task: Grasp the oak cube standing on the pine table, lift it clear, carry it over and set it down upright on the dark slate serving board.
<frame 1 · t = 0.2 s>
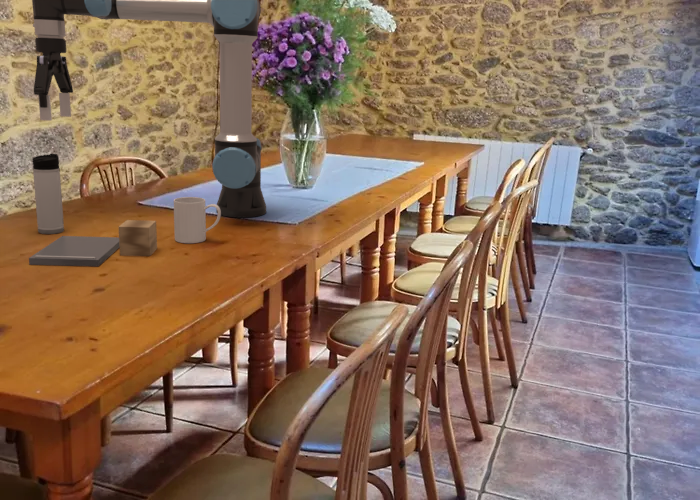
hand: (56, 118, 188), 28 cm above the table, fingers open, 13 cm apart
mug: (198, 241, 176), on the table
oak cube: (138, 252, 164), on the table
travel mug: (51, 232, 179), on the table
slate board: (79, 253, 161), on the table
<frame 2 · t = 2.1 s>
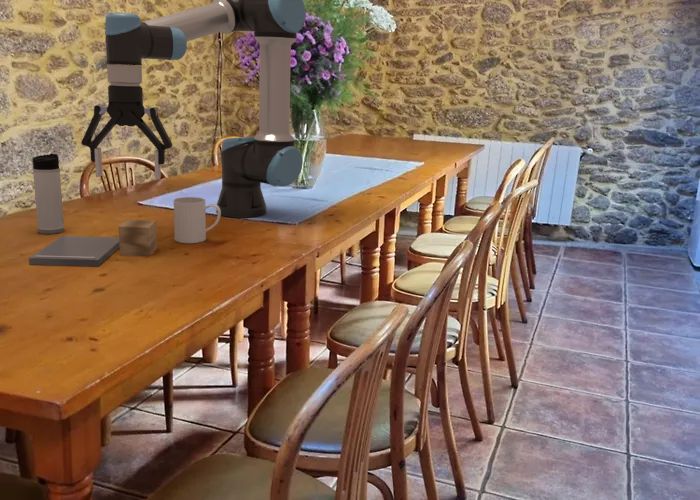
hand: (128, 177, 161), 18 cm above the table, fingers open, 13 cm apart
nothing on the table moved.
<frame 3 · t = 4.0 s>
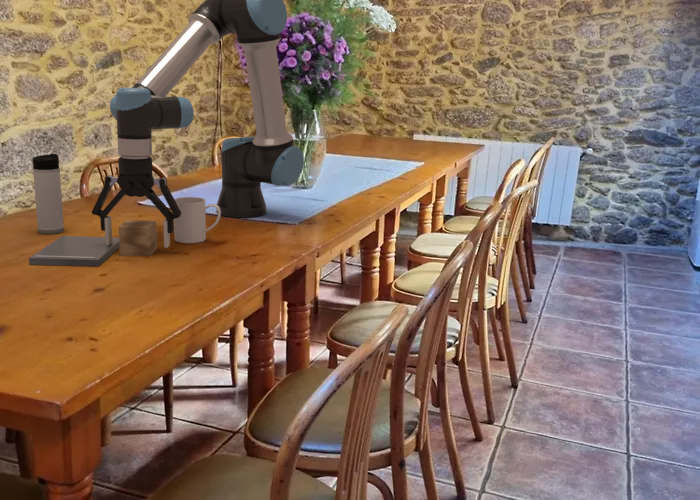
hand: (138, 245, 164), 2 cm above the table, fingers open, 13 cm apart
nothing on the table moved.
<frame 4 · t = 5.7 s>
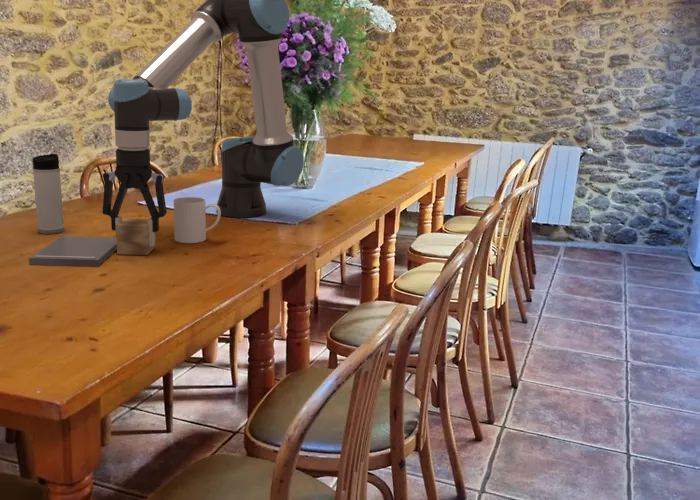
hand: (135, 244, 164), 2 cm above the table, fingers closed on oak cube, 7 cm apart
oak cube: (136, 250, 164), on the table, touching gripper
everything else where it was.
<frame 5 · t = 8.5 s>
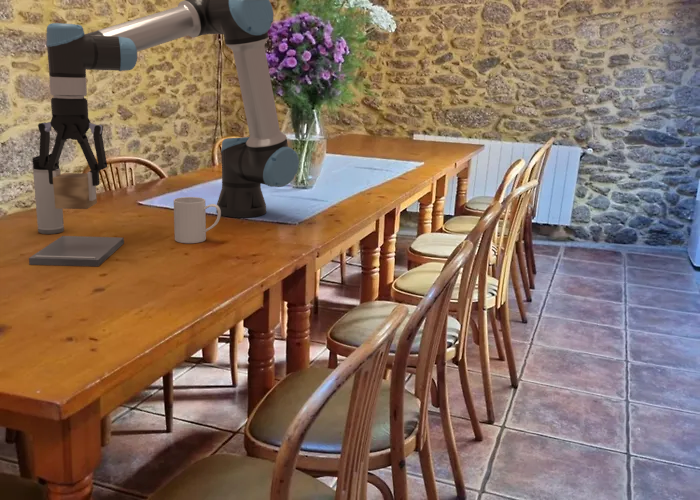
hand: (75, 198, 157), 13 cm above the table, fingers closed on oak cube, 7 cm apart
oak cube: (76, 205, 158), point 11 cm above the table, touching gripper
everything else where it was.
when the fingers open (3 cm above the table, at t = 11.1 s): oak cube stays where it is, resting on slate board.
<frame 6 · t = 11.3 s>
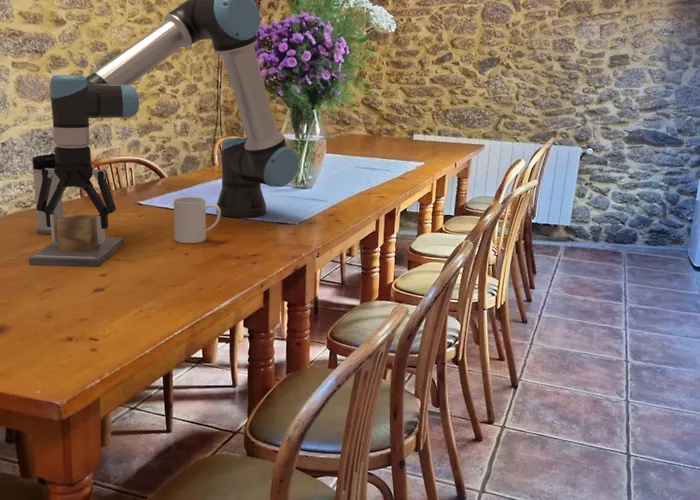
hand: (78, 241, 160), 3 cm above the table, fingers open, 10 cm apart
oak cube: (79, 247, 160), point 1 cm above the table, touching slate board
everything else where it was.
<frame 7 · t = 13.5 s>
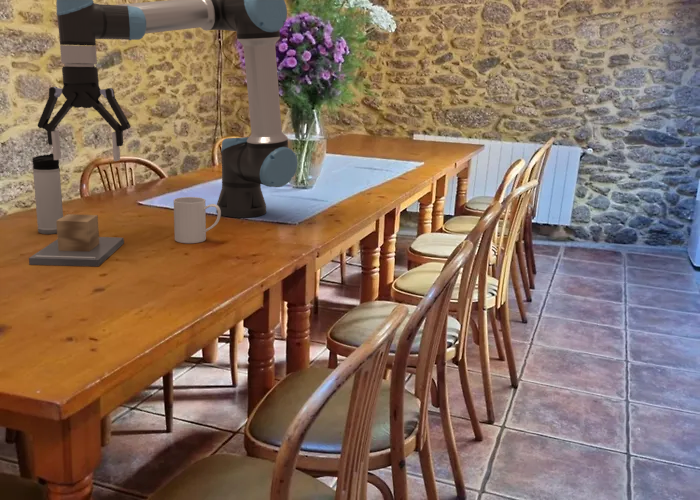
hand: (87, 159, 160), 21 cm above the table, fingers open, 13 cm apart
nothing on the table moved.
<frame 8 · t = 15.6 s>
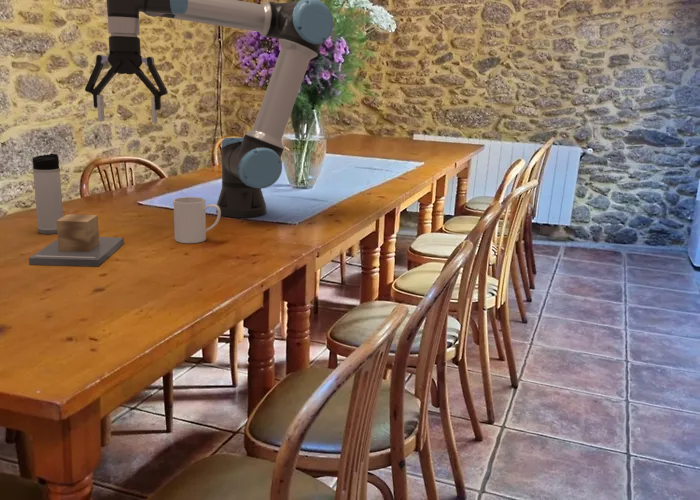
hand: (128, 122, 176), 29 cm above the table, fingers open, 13 cm apart
nothing on the table moved.
at the end: oak cube inside the target area on the slate board (0.2 cm from its centre), point 1.5 cm above the slate board's base; oak cube tilted 0°; the gripper is holding nothing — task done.
